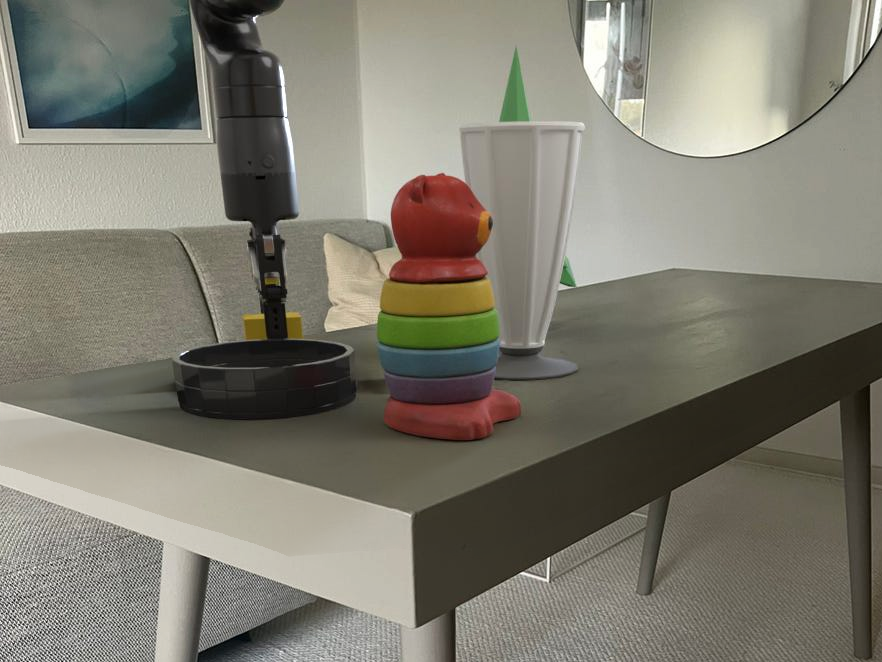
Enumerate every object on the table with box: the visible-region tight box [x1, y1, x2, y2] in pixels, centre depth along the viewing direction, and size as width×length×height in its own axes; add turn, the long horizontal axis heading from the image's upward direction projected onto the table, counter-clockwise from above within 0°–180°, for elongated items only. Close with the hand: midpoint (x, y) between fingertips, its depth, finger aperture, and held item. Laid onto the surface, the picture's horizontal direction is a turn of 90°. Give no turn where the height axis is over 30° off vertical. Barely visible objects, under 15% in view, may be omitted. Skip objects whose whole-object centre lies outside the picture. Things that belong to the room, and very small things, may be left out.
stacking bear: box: [376, 172, 522, 441], centre depth 74 cm, size 11×10×18 cm
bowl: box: [171, 338, 357, 420], centre depth 86 cm, size 15×15×4 cm
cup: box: [459, 120, 586, 381], centre depth 93 cm, size 12×12×22 cm
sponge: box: [242, 311, 304, 340], centre depth 107 cm, size 6×4×4 cm, turn 104°
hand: (275, 334), depth 107 cm, fingers open, 8 cm apart
